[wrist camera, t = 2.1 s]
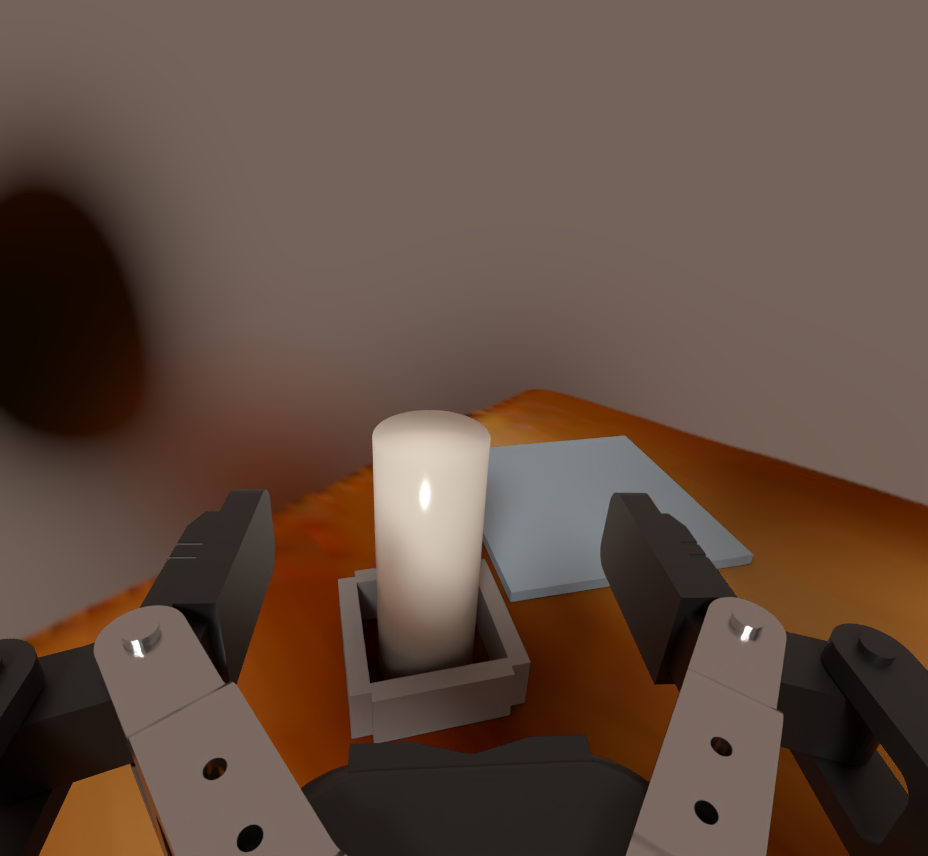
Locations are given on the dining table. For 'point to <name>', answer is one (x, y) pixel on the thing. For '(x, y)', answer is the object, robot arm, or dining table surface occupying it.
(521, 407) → the dining table surface
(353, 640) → the cup holder
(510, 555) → the mat
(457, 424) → the cream tall cylinder
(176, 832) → the robot arm
